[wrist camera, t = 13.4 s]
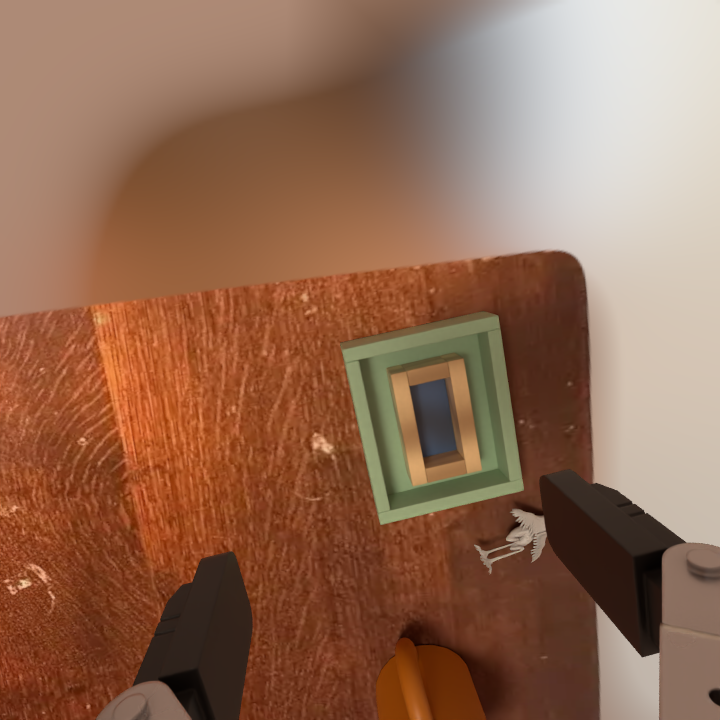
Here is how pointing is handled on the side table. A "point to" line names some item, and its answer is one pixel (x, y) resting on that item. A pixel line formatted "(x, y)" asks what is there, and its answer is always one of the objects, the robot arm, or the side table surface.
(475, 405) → the holder
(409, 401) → the frame
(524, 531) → the figurine
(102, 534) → the side table surface
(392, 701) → the mug
